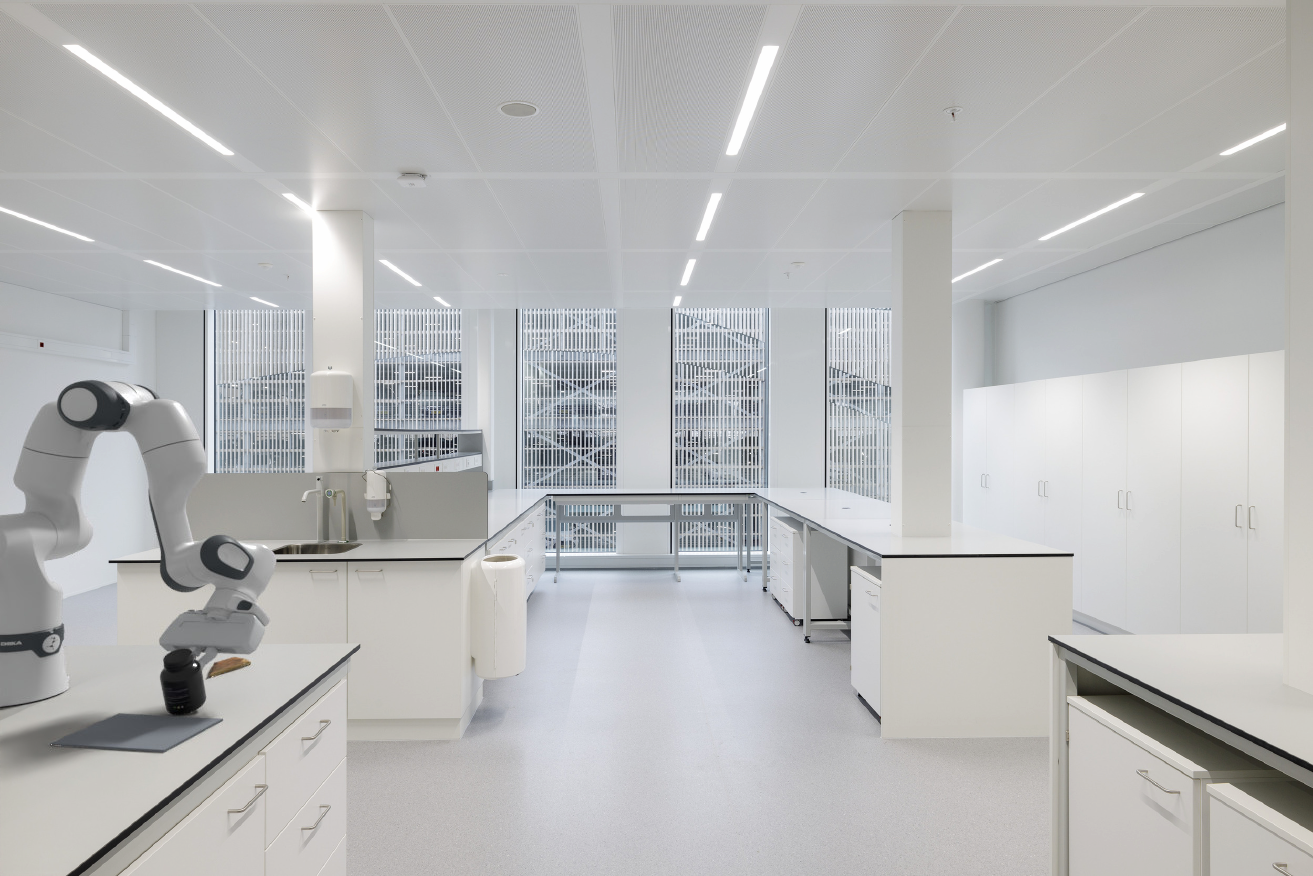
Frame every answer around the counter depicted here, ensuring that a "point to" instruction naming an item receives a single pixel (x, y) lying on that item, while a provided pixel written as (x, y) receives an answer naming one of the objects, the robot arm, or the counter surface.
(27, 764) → the counter surface
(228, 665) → the shard
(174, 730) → the mat
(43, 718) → the counter surface
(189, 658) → the supplement bottle
